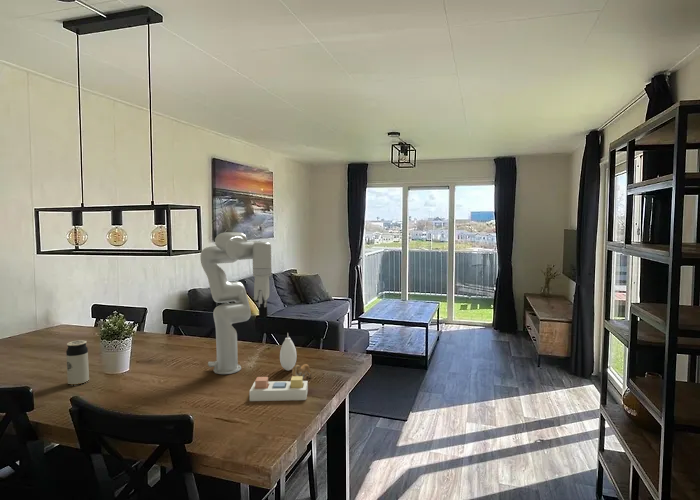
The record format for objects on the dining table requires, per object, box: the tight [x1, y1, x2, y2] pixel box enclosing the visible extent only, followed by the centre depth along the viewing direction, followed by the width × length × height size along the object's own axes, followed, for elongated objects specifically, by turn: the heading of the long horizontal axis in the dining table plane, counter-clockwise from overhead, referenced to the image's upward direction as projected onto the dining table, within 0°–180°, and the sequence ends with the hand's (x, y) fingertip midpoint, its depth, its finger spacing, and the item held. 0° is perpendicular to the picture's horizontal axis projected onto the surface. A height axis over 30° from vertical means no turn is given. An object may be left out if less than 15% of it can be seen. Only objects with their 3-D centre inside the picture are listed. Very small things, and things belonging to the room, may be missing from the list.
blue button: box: [273, 382, 286, 388], centre depth 174 cm, size 4×4×4 cm
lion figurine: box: [291, 363, 313, 379], centre depth 190 cm, size 15×5×9 cm, turn 164°
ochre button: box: [290, 375, 304, 388], centre depth 174 cm, size 4×4×4 cm
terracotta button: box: [254, 376, 269, 389], centre depth 174 cm, size 4×4×4 cm
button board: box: [248, 380, 309, 402], centre depth 174 cm, size 22×10×4 cm, turn 92°
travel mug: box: [65, 339, 90, 385], centre depth 190 cm, size 8×8×18 cm
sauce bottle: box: [279, 333, 298, 372], centre depth 205 cm, size 8×8×18 cm
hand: (263, 316), depth 178 cm, fingers closed
